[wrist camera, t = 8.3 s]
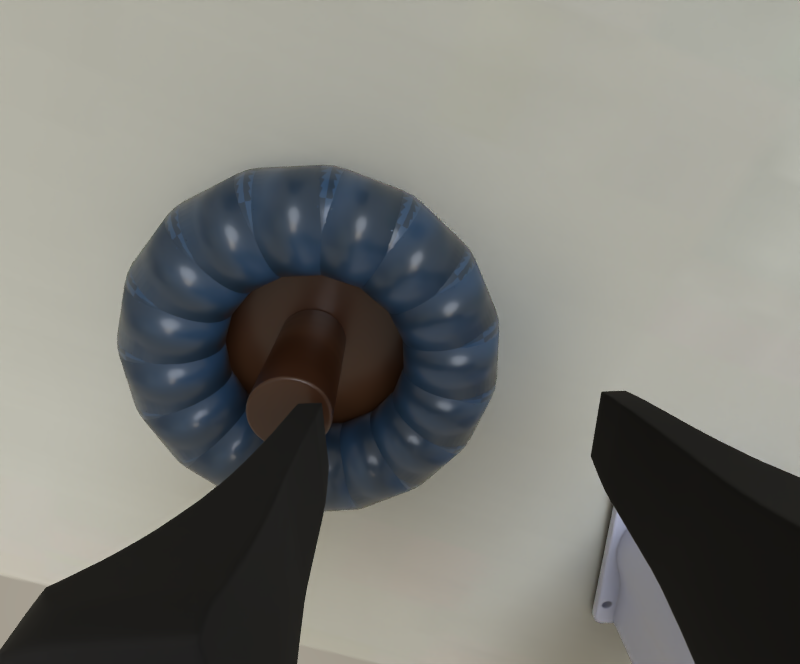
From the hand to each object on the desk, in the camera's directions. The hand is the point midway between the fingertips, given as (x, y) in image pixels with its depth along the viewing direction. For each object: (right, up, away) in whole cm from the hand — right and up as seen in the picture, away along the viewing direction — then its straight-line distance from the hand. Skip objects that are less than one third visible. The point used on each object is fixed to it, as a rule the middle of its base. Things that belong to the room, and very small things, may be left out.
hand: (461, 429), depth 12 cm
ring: (-4, +2, +4) cm, 6 cm away
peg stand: (-5, +3, +6) cm, 8 cm away
